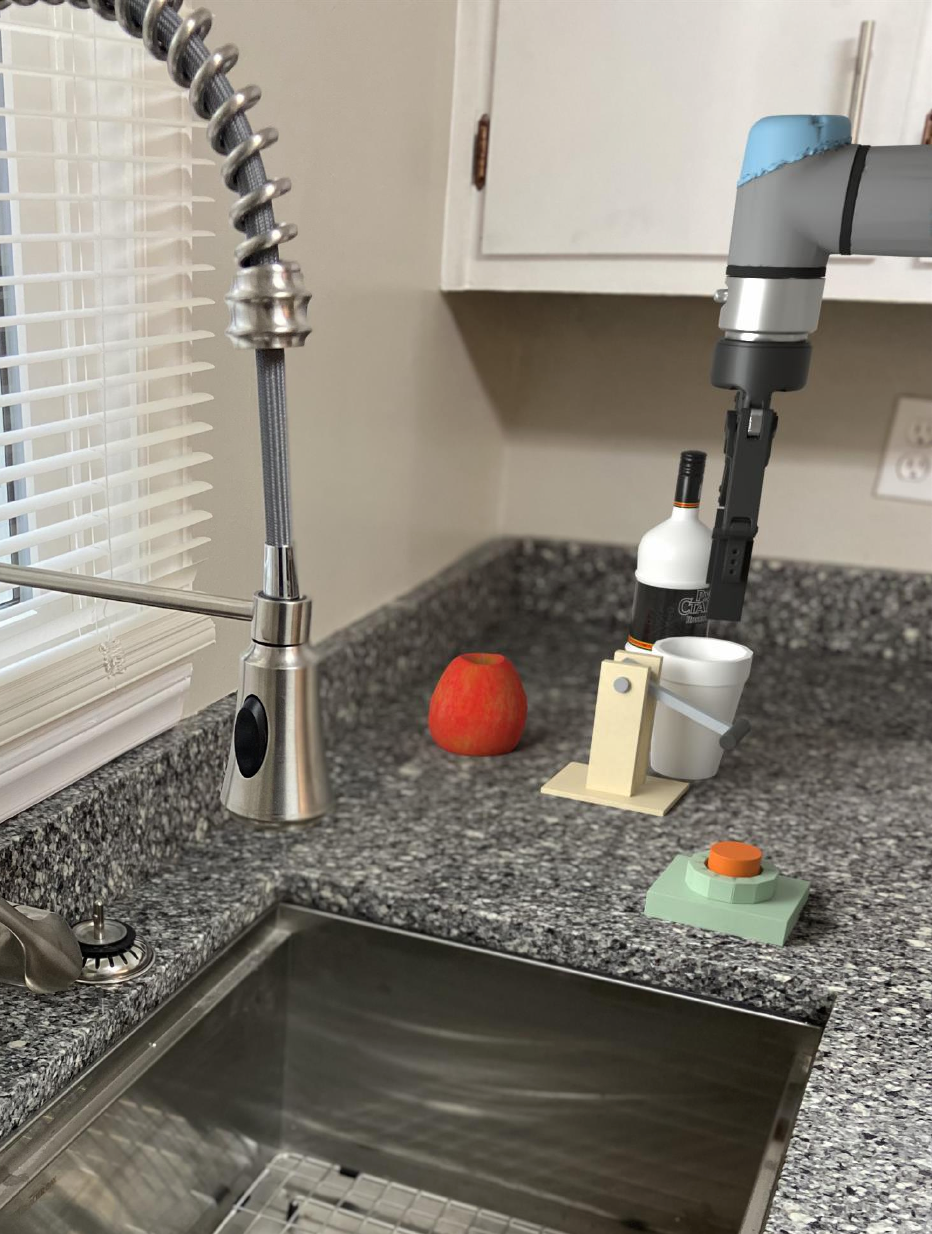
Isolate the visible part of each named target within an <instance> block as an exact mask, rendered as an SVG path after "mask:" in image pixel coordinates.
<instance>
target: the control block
mask: <svg viewBox="0 0 932 1234" xmlns="http://www.w3.org/2000/svg"><path fill="white" fill-rule="evenodd" d="M709 854H710V849H707V850H703V851H699V852H696V853H693V854H692V856H687V855H683V854H680V853H679V854H677V855H676V856H675V857H674V858H673V860H672V861H671V862H670V863H669V864H668V866H666V868H665V869H664V870H663V871H662V873H661V874H660V876H658V878H657V879H656V880H655V881H654V882H653V883H652V885H651V886H650V887H649V888H648V889H647V891H646V898H645V904H644V911H643V915H644V916H646V917H647V916H648V917H652V918H656V919H660V920H664V921H670V922H674V923H678V924H682V925H687V926H691V927H695V928H700V929H704V930H709V931H713V932H718V933H722V934H725V935H726V934H727V935H730V936H735V937H739V938H744V939H747V940H752V941H757V942H761V943H765V944H770V945H774V946H778V947H784V945H785V943H786V942H787V940H788V938H789V936H790V935H791V933H792V932H793V929H794V928H795V926H796V925H797V923H798V921H799V919H800V918H801V916H802V914H801V911H802V910H803V908H804V907H805V904H806V903H807V901H808V899H809V895H810V891H811V885H812V881H808V880H803V879H800V878H794V877H790V876H784V875H780V874H781V873H780V870H779V869H778V867H777V866H776V865H775V864H774V862H772V861H770V860H768V859H766V858H764V857H762V859H761V864H760V870H759V874H758V876H754V877H751V878H737V877H729V876H725V875H720V874H717V873H715V872H713V871H711V870H709V869H708V868H707V866H708V860H709Z"/></svg>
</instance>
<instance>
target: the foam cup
mask: <svg viewBox="0 0 932 1234" xmlns="http://www.w3.org/2000/svg"><path fill="white" fill-rule="evenodd" d="M652 655H659V656H663V664H662V671H661V677H660V684H659V685H660V686H662V687H664V688H666V689H667V690H669V691H671V692H673V693H675V694H677V695H679V696H680V697H682V698H684V699H686V700H688V701H690V702H691V703H693V704H695V705H697V706H699V707H701V708H703V709H704V710H706V711H708V712H710V713H712V714H714V715H715V716H717V717H719V718H721V719H723V720H725V721H727V722H728V723H730V724H732V725H733V723H734V719H735V716H736V713H737V709H738V706H739V703H740V699H741V696H742V693H743V691H744V686H745V683H746V682H747V681H748V680H749V677H750V673H751V667H752V663H753V656H754V651H752V650H751V649H750V648H749V647H748V646H745V645H744V644H743V645H742V644H740V643H736V642H734V641H730V640H725V639H719V638H712V637H707V638H703V637H672V638H666V639H663V640H659V641H656V643H655V644H654V645H653V648H652ZM721 736H722V735H721V734H719V733H717V732H715V731H713V730H711V729H709V728H708V727H706V726H704V725H702V724H700V723H698V722H697V721H695V720H693V719H691V718H689V717H687V716H686V715H684V714H682V713H680V712H678V711H676V710H675V709H673V708H671V707H669V706H667V705H665V704H664V703H662V702H660V701H658V700H657V705H656V712H655V719H654V726H653V732H652V739H651V746H650V767H651V769H652V770H653V771H654V772H656V773H658V774H661V775H663V776H666V777H670V778H673V779H680V780H693V781H694V780H706V779H710V778H712V777H715V776H716V774H717V772H718V770H719V767H720V764H721V761H722V757H723V754H724V751H725V750H724V749H722V748H721V746H720V744H719V740H720V738H721Z"/></svg>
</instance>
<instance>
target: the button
mask: <svg viewBox="0 0 932 1234" xmlns="http://www.w3.org/2000/svg"><path fill="white" fill-rule="evenodd" d="M709 850H710V854H709V860H708V866H707V868H708V869H709V870H711V871H713V872H715V873H717V874H720V875H725V876H729V877H737V878H751V877H754V876H758V874H759V870H760V864H761V859H762V858H763V852H762V850H761V849H759V847H756V846H754V845H752V844H750V843H746V842H741V841H733V840H732V841H730V840H727V841H726V840H725V841H724V840H723V841H718V842H715V843H713V844H712V845H711V846H710V849H709Z"/></svg>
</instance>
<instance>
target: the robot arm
mask: <svg viewBox="0 0 932 1234" xmlns="http://www.w3.org/2000/svg"><path fill="white" fill-rule="evenodd" d="M851 134H852V122H851V119H850V118H849V117H848V116H846V115H841V114H777V115H776V114H775V115H768V116H764V117H761V118H760V119H758V120H757V121H755V122H754V124H753V125H751V127H750V129H749V132H748V135H747V140H746V146H745V150H744V155H743V156H744V157H743V161H742V165H741V170H740V175H739V179H738V180H737V182H736V192H735V193H736V194H735V201H734V202H735V203H734V210H733V217H732V225H731V232H730V240H729V249H728V255H727V263H726V265H727V266H726V267H725V280H724V284H725V285H726V287H727V288H719V289H716V290H715V292H714V294H713V300H714V301H715V302H716V303H723V305H722V306H721V308H720V312H719V318H718V329H720V331H723V332H724V336H723V337H718V338H717V341H714V347H713V354H712V359H711V360H712V361H711V368H710V374H709V382H710V384H711V386H713V387H714V388H717V389H723V390H727V391H736V393H735V395H734V398H733V402H734V409H727V410H726V415H725V421H724V436H725V437H724V444H723V454H724V466H723V473H722V478H721V483H720V485H719V486H718V493H719V496H718V497H717V498H718V499H717V503H718V507H719V508H718V507H717V508H716V514H715V520H714V526H713V527H712V537H711V539H712V545H711V551H710V558H709V564H708V570H707V577H706V584H711V589H710V596H709V602H708V609H707V615H706V619H710V621H711V620H712V621H726V622H737V623H740V622H741V621H742V614H743V607H744V603H745V597H746V591H747V585H748V579H749V574H750V573H749V572H750V568H751V560H752V554H753V549H754V544H755V540H754V539H755V538H756V536H757V534H758V533H759V526H758V521H759V515H760V508H761V500H762V495H763V494H762V492H763V486H764V481H765V479H764V478H765V471H766V468H767V467H768V466H769V462H770V458H771V455H772V446H773V445H772V444H773V440H774V439H775V437H776V435H777V429H778V423H779V415H778V412H777V411H775V409H774V408H771V404H772V397H773V393H775V392H778V393H779V392H780V393H790V392H791V393H792V392H798V391H800V390H802V389H804V388H805V387H806V385H807V383H808V378H809V371H810V366H811V360H812V354H813V349H814V345H813V344H812V341H811V340H808V336H809V334H813V333H814V332H816V331H817V330H818V325H819V319H820V315H821V308H822V303H823V297H824V291H825V285H826V279H827V278H826V273H827V265H828V262H829V259H830V255H840V256H852V255H853V256H854V255H855V256H879V257H895V258H896V257H898V258H904V257H905V258H932V143H930V144H929V143H928V144H899V145H898V144H895V145H894V144H893V145H871V144H861V143H852V142H853V137H852V135H851Z"/></svg>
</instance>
